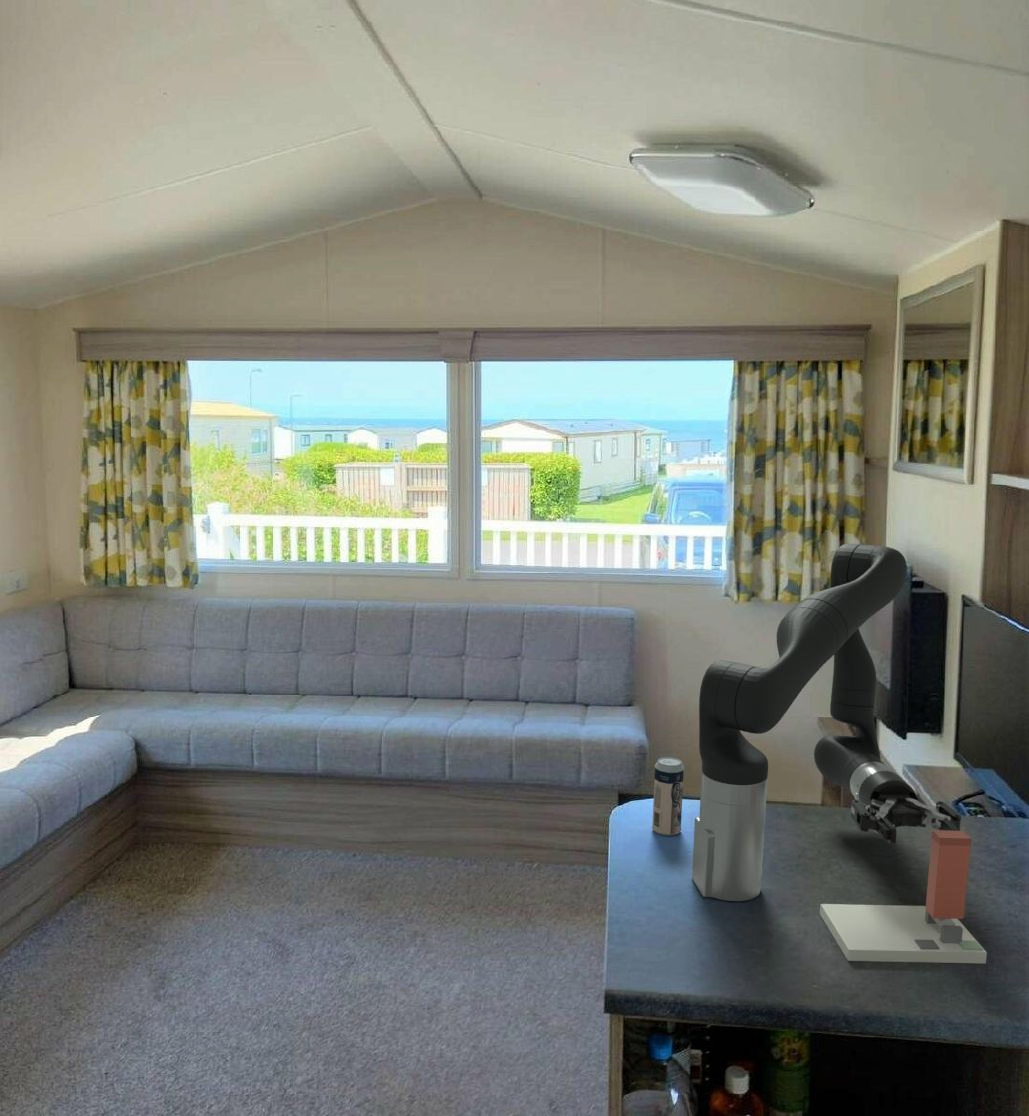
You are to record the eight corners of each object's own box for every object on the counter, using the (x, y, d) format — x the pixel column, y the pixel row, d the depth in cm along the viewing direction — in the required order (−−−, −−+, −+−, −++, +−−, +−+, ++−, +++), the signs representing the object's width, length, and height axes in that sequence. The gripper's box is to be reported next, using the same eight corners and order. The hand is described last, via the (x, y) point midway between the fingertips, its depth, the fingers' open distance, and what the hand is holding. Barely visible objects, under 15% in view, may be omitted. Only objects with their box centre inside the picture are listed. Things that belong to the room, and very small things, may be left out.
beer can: (680, 838, 165) (684, 767, 163) (650, 835, 166) (653, 764, 164) (681, 827, 170) (685, 757, 168) (652, 824, 171) (655, 755, 169)
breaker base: (847, 960, 129) (849, 934, 129) (819, 914, 141) (821, 890, 141) (985, 963, 129) (988, 937, 129) (946, 916, 141) (948, 892, 141)
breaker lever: (932, 933, 132) (941, 839, 131) (923, 921, 136) (931, 828, 134) (963, 934, 132) (972, 839, 131) (953, 921, 136) (961, 829, 134)
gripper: (837, 769, 156) (875, 810, 140) (930, 770, 156) (978, 812, 140) (834, 815, 157) (871, 862, 141) (926, 817, 157) (973, 864, 141)
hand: (924, 837), depth 141 cm, fingers open, 8 cm apart
